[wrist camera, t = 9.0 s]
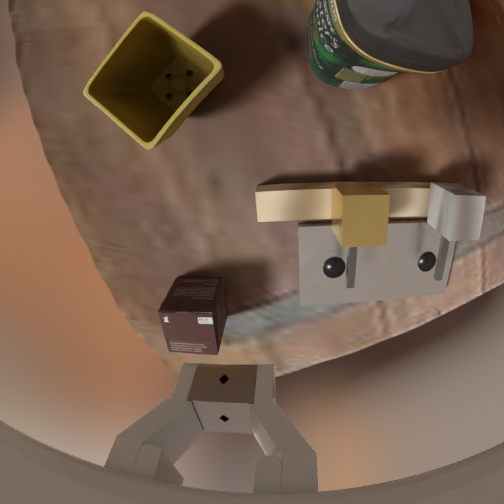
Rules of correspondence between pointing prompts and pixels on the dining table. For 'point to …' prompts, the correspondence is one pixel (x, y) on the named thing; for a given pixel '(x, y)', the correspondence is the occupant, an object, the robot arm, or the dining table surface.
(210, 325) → the box
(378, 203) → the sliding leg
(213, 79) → the flower pot
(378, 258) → the hole plate
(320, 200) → the beam
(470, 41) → the coffee jar
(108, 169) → the dining table surface
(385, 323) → the dining table surface
